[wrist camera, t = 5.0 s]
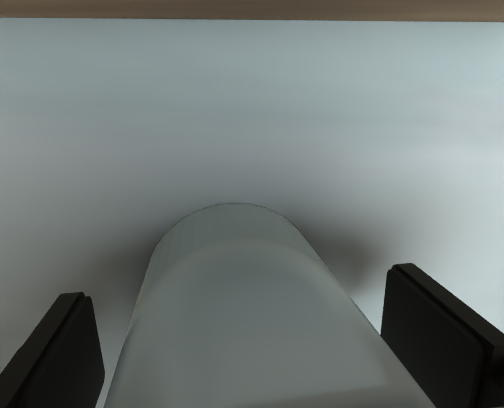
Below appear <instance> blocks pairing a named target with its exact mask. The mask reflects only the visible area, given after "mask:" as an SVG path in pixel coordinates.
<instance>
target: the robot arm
mask: <svg viewBox="0 0 504 408" xmlns="http://www.w3.org/2000/svg"><path fill="white" fill-rule="evenodd" d="M380 336H381V337H382V339H383V340H384V341H385V342H386V344H387V345H388V346H389V348H390V349H391V350H392V351H393V353H394V354H395V355H396V357H397V358H398V359H399V360H400V362H401V363H402V364H403V366H404V367H405V368H406V370H407V371H408V372H409V373H410V375H411V376H412V377H413V379H414V380H415V381H416V382H417V384H418V385H419V386H420V388H421V389H422V390H423V391H424V393H425V394H426V395H427V397H428V398H429V399H430V401H431V402H432V403H433V404H434V406H435V407H436V408H504V333H502V332H501V331H500V330H498V329H497V328H496V327H494V326H493V325H492V324H491V323H489V322H488V321H487V320H485V319H484V318H483V317H482V316H480V315H479V314H478V313H476V312H475V311H474V310H473V309H471V308H470V307H469V306H467V305H466V304H465V303H463V302H462V301H461V300H460V299H458V298H457V297H456V296H454V295H453V294H452V293H451V292H449V291H448V290H447V289H445V288H444V287H443V286H442V285H440V284H439V283H438V282H436V281H435V280H434V279H432V278H431V277H430V276H429V275H427V274H426V273H425V272H423V271H422V270H421V269H420V268H418V267H417V266H416V265H414V264H413V263H406V264H395V265H393V266H392V268H391V269H389V270H388V272H387V278H386V288H385V297H384V306H383V316H382V325H381V335H380ZM104 377H105V370H104V364H103V359H102V353H101V348H100V342H99V337H98V331H97V326H96V320H95V315H94V309H93V304H92V299H91V297H90V296H87V297H85V295H84V293H83V292H76V293H65V294H61V295H60V296H59V297H58V298H57V299H56V301H55V302H54V304H53V305H52V306H51V308H50V309H49V310H48V312H47V313H46V314H45V316H44V317H43V319H42V320H41V321H40V323H39V324H38V325H37V327H36V328H35V329H34V331H33V332H32V333H31V335H30V336H29V338H28V339H27V340H26V342H25V343H24V344H23V345H22V346H21V347H20V348H19V350H18V351H17V352H16V354H15V355H14V356H13V358H12V359H11V360H10V362H9V363H8V364H7V366H6V367H5V368H4V370H3V371H2V373H1V374H0V408H95V406H96V403H97V400H98V398H99V395H100V392H101V389H102V386H103V383H104Z"/></svg>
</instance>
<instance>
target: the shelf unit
mask: <svg viewBox="0 0 504 408" xmlns="http://www.w3.org/2000/svg"><path fill="white" fill-rule="evenodd" d="M0 17H39V18H143V19H247V20H351V21H456V22H504V0H0Z"/></svg>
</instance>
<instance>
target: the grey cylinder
mask: <svg viewBox="0 0 504 408" xmlns="http://www.w3.org/2000/svg"><path fill="white" fill-rule="evenodd" d="M104 408H436V407H435V406H434V404H433V403H432V402H431V401H430V399H429V398H428V397H427V395H426V394H425V393H424V391H423V390H422V389H421V388H420V386H419V385H418V384H417V382H416V381H415V380H414V379H413V377H412V376H411V375H410V373H409V372H408V371H407V370H406V368H405V367H404V366H403V364H402V363H401V362H400V360H399V359H398V358H397V357H396V355H395V354H394V353H393V351H392V350H391V349H390V348H389V346H388V345H387V344H386V342H385V341H384V340H383V339H382V337H381V336H380V335H379V333H378V332H377V331H376V329H375V328H374V327H373V326H372V324H371V323H370V322H369V320H368V319H367V318H366V317H365V315H364V314H363V313H362V311H361V310H360V309H359V308H358V306H357V305H356V304H355V302H354V301H353V300H352V299H351V297H350V296H349V295H348V293H347V292H346V291H345V289H344V288H343V287H342V286H341V284H340V283H339V282H338V280H337V279H336V278H335V277H334V275H333V274H332V273H331V271H330V270H329V269H328V268H327V266H326V265H325V264H324V262H323V261H322V260H321V258H320V257H319V256H318V255H317V253H316V252H315V251H314V249H313V248H312V247H311V246H310V244H309V243H308V242H307V240H306V239H305V238H304V237H303V235H302V234H301V233H300V231H299V230H298V229H297V228H296V227H295V226H294V225H293V224H292V223H291V222H289V221H288V220H287V219H286V218H284V217H283V216H281V215H279V214H278V213H276V212H274V211H272V210H269V209H267V208H264V207H261V206H257V205H253V204H245V203H226V204H218V205H214V206H210V207H206V208H204V209H201V210H199V211H196V212H194V213H192V214H190V215H189V216H187V217H185V218H183V219H182V220H181V221H179V222H178V223H177V224H175V225H174V226H173V227H172V228H171V229H170V230H169V231H168V232H167V233H166V234H165V235H164V237H163V238H162V239H161V240H160V242H159V243H158V245H157V247H156V248H155V250H154V252H153V254H152V256H151V259H150V261H149V264H148V268H147V271H146V274H145V277H144V280H143V284H142V287H141V290H140V293H139V296H138V300H137V303H136V306H135V309H134V312H133V315H132V319H131V322H130V325H129V328H128V331H127V335H126V338H125V341H124V344H123V347H122V351H121V354H120V357H119V360H118V363H117V366H116V370H115V373H114V376H113V379H112V382H111V386H110V389H109V392H108V395H107V398H106V401H105V405H104Z"/></svg>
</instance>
